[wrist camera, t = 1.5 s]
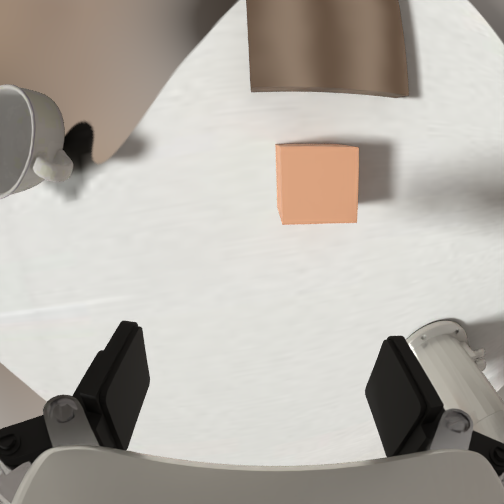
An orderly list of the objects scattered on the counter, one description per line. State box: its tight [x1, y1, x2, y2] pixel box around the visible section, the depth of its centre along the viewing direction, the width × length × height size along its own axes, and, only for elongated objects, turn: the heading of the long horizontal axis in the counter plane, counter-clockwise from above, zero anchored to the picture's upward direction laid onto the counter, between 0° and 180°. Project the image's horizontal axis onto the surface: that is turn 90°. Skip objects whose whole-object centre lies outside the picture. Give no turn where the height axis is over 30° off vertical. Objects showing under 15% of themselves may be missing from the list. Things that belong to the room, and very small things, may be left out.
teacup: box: [0, 85, 73, 199], centre depth 24 cm, size 14×11×8 cm
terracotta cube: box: [275, 144, 359, 225], centre depth 26 cm, size 6×6×6 cm
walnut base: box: [246, 0, 409, 98], centre depth 22 cm, size 14×14×3 cm
